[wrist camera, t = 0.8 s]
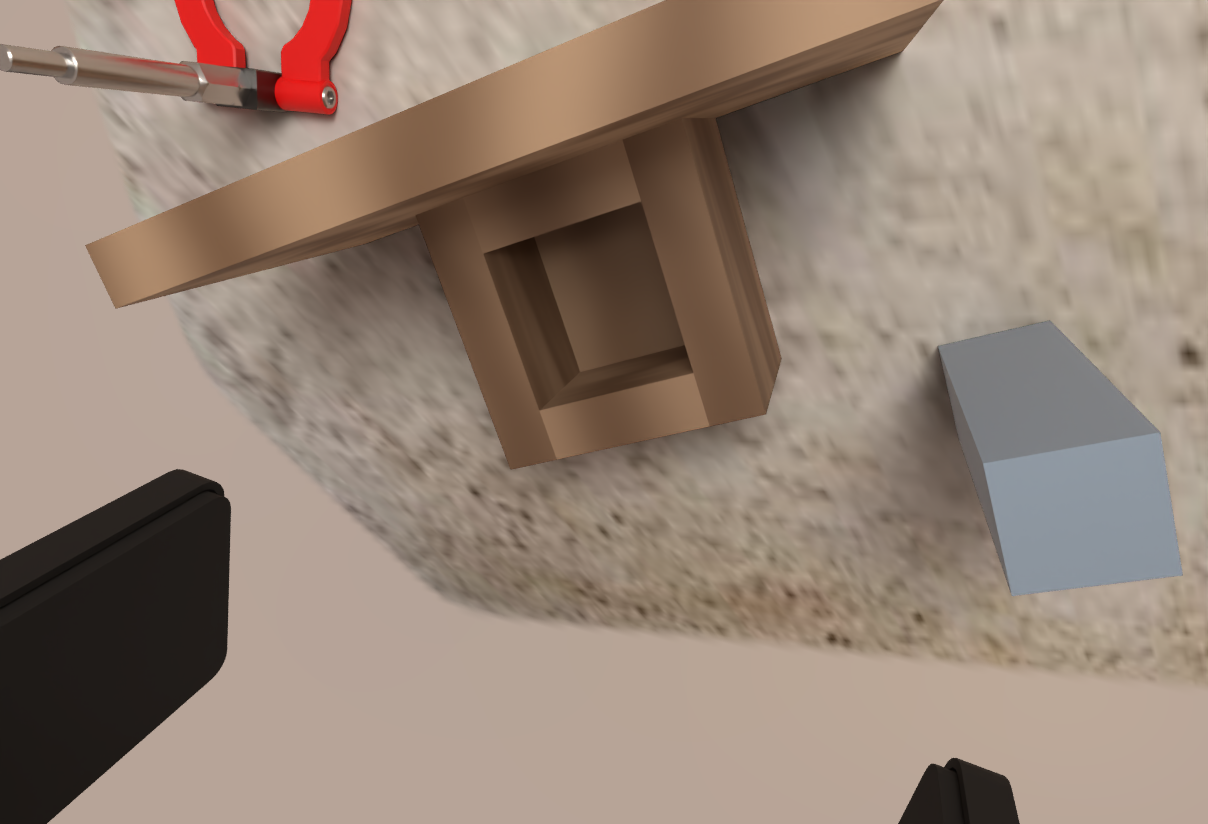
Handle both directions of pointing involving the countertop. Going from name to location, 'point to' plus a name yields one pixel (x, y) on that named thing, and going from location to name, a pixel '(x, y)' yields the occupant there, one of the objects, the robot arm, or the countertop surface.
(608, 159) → the small wooden stand
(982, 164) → the countertop surface
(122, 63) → the tow hook
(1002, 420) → the plain blue gray block
